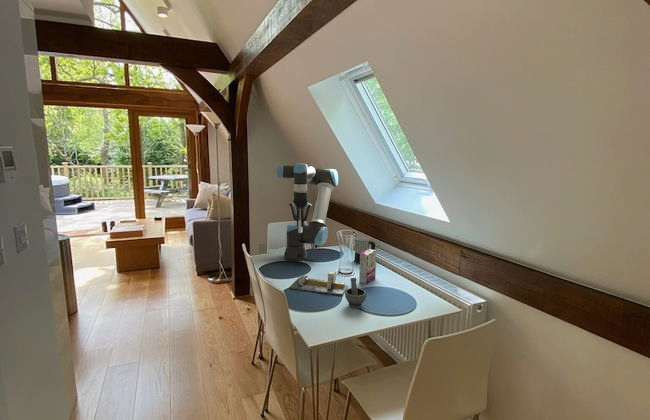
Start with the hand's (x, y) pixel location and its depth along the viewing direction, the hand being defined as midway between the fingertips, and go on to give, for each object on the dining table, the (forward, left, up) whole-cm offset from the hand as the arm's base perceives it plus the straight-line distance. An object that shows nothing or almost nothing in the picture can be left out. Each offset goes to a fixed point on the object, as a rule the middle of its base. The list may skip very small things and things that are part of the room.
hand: (300, 232), depth 200 cm
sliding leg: (+17, +23, -23) cm, 37 cm away
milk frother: (-37, +29, -24) cm, 52 cm away
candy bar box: (-1, +39, -24) cm, 46 cm away
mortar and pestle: (+32, +39, -24) cm, 56 cm away
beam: (+18, +18, -23) cm, 34 cm away
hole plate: (+18, +17, -24) cm, 35 cm away
